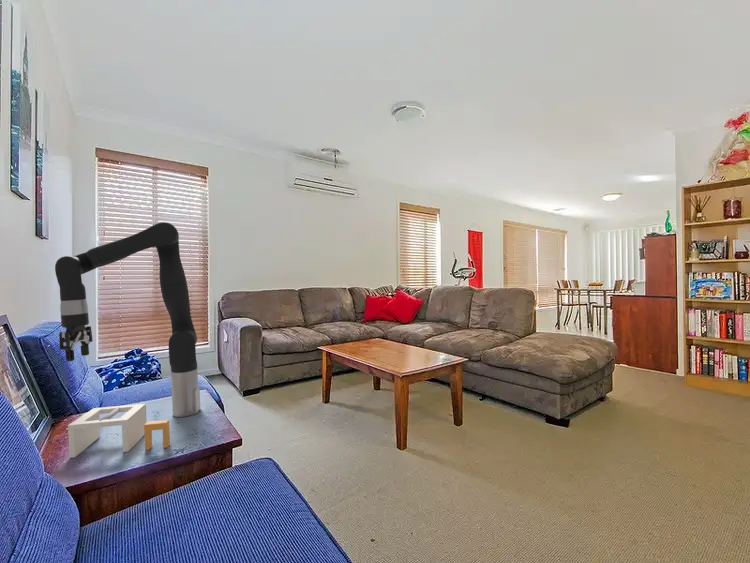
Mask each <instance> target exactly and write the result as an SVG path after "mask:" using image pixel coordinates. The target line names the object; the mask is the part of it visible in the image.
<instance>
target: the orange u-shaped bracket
mask: <svg viewBox="0 0 750 563" xmlns="http://www.w3.org/2000/svg"><path fill="white" fill-rule="evenodd" d="M159 430H160V431H161V430H162V447H163V449H165V448H166V449H167V448H169V446H170V445H171V435H170V434H171V432H170V420H169V419H164V420H151V421H147V422H146V423H145V424H144V436H143V437H144V450H145V451H149V450H150V449H151V448H152V447H153V432H152V431H159Z"/></svg>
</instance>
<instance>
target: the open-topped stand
mask: <svg viewBox="0 0 750 563" xmlns="http://www.w3.org/2000/svg"><path fill="white" fill-rule="evenodd" d="M124 412H125V413H124ZM118 413H124V414H123V415H121V416H120V417H118V418H114V416H116V415H117V414H118ZM103 414H104V415H105V414H106V415H105V416H104V417H102V418H100V415H103ZM146 422H148V421H147V403H139V404H137V403H136V404H128V405H115V406H104V407H93V408H91V410H89V411H88V412H86V413H84V414H83V415H81V416H80V417H78V418H77V419H75V420H74V421H72V422H71V423H69V424H68V425H67V433H68V449H69V450H68V452H69V453H68V454H69V457H68V458H69V459H71V458H76V457H77V456H78V455H80V454H81V453H82V452H83V451H85V450H86V449H87V448H89V447H90V446H91V445H92V444H93V443H95V441H97V440H98V439H99V438H101V428H105V427H107V428H108V427H115V426H121V436H122V437H121V438H122V452H123V453H128V452H130V451H131V450H132V448H133V447H134V446H135V445H136V444H137V443H138V442H139V441H140V440H141V439H142V438H143V437H145V436H144V424H145V423H146Z"/></svg>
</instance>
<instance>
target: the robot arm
mask: <svg viewBox="0 0 750 563" xmlns="http://www.w3.org/2000/svg"><path fill="white" fill-rule="evenodd" d="M179 234H180V233H179V232H178V229H177V228H176V227H175V226H174V225H173V224H172V223H170V222H168V221H159V222H156V223H155V224H153V225H152V226H150V227H148V228H146V229H144V230H141V231H139V232H137V233H134V234H132V235H130V236H127V237H124V238H121V239H117V240H114V241H111V242H108V243H105V244H102V245H98V246H96V247H93V248H90V249H88V250H87V251H85V252H82V253H80V254H77V255H73V256H72V255H65V256H61V257H60V258H58V259H57V261H56V262H55V266H54V270H55V271H54V272H55V276H56V280H57V283H58V286H59V299H60V305H59V309H60V310H59V311H60V323H61V327H62V328H65V331H60V332H59V333H58V334H59V335H58V337H59V338H58V339H59V341H58V342H59V350H61V351H64V352H65V362H73V361H75V350H74V349H75V346H76V345H77V344H78V343H79V344H80V352H81V354H80V355H81V356H82V357H83V356H89V355H90V348H89V346H90V343H92V342H93V333H92V332H93V331H92V326H91V325H90V324H89V323H90V321H89V320H90V319H89V306H88V302H87V291H86V287H85V285H84V284H83V280H82V275H84V274H87V273H89V272H91V271H94V270H95V269H98V268H100V267H105V266H107V265H110V264H113V263H116V262H119V261H121V260H123V259H126V258H128V257H130V256H132V255H135V254H136V253H139V252H141V251H144V250H148V249H152V248H156V251H157V255H158V260H159V272H158V274H159V285H160V292H161V297H162V301H163V304H164V305H165V308H166V310H167V312H168V315H169V319H170V322H171V331H172V333H171V336H170V337H169V339H168V360H169V366H170V371H171V372H170V376H171V377H170V378H171V380H170V382H171V401H172V402H171V404H172V411H171V412H172V416H173V417H175V418H176V417H177V418H182V417H183V418H184V417H190V416H193V415H197V414H198V413H199V411H200V410H201V389H200V385H199V382H198V381H199V380H198V378H199V377H198V361H197V353H196V348H197V347H196V344H197V342H198V337H197V336H198V335H197V332H196V330H195V327H194V322H193V319H192V316H191V305H190V304H191V303H190V294H189V288H188V282H187V277H186V274H185V270H184V266H183V264H182V260H181V255H180V241H179V239H180V237H179Z"/></svg>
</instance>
